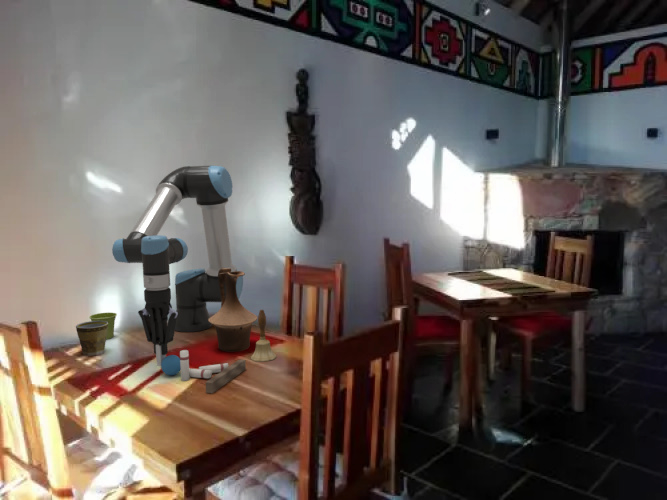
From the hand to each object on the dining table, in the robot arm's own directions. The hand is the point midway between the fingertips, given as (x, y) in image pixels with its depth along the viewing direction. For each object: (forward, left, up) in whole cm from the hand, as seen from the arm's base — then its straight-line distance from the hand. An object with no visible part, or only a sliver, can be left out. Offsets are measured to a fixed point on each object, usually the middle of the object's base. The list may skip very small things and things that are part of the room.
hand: (161, 364), depth 161 cm
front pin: (0, +8, -1) cm, 8 cm away
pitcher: (-30, +9, -3) cm, 31 cm away
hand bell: (-22, +24, -3) cm, 32 cm away
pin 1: (+3, +10, -3) cm, 11 cm away
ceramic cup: (-12, -36, -3) cm, 38 cm away
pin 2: (-2, +12, -1) cm, 12 cm away
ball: (0, +4, 0) cm, 4 cm away
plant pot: (-28, -44, -3) cm, 52 cm away
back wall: (0, +22, -3) cm, 22 cm away
